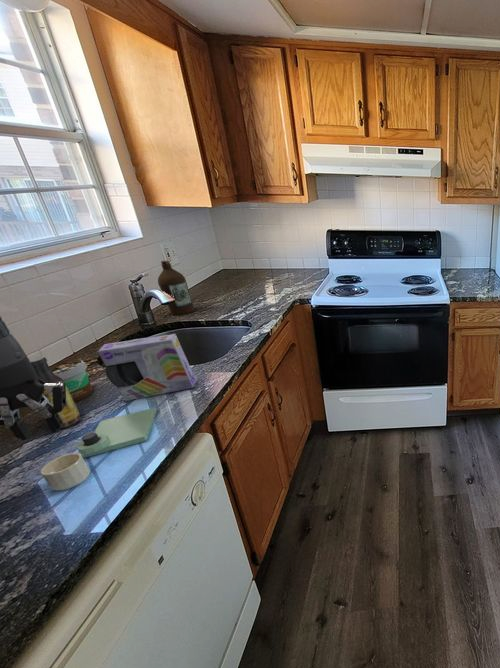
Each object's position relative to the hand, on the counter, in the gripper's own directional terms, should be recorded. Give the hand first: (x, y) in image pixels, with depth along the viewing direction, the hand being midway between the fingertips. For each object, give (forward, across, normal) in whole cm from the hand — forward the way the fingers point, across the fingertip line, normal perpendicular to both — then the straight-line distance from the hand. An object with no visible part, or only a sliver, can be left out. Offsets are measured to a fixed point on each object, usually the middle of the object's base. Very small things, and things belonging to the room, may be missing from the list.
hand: (42, 433), depth 75 cm
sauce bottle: (+13, +9, -28) cm, 32 cm away
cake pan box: (+13, -11, -34) cm, 38 cm away
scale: (+13, -6, -15) cm, 21 cm away
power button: (+11, -2, -10) cm, 14 cm away
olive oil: (+13, -8, -116) cm, 117 cm away
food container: (+13, +11, -43) cm, 46 cm away
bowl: (+13, 0, 0) cm, 13 cm away
